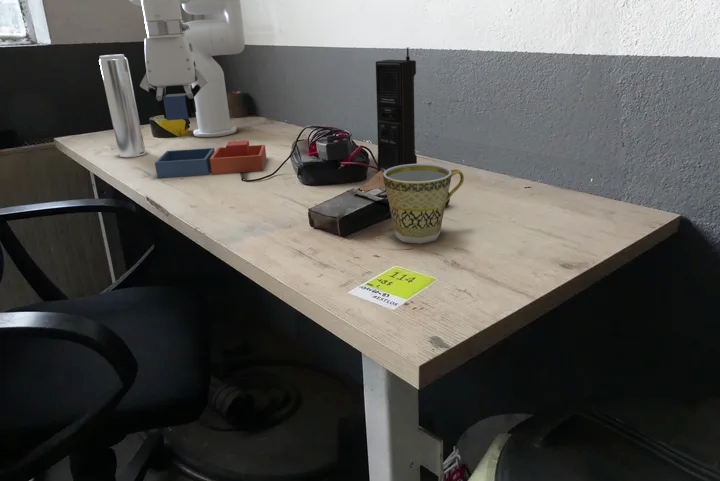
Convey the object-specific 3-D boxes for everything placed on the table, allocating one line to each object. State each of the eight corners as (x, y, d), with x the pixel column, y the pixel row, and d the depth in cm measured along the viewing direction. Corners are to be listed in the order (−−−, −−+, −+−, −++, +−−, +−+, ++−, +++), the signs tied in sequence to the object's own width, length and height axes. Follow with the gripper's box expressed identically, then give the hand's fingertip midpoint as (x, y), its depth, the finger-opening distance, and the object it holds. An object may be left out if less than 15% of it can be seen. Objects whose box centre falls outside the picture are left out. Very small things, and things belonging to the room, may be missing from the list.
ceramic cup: (404, 253, 81) (402, 186, 77) (374, 231, 90) (371, 169, 86) (480, 236, 86) (482, 171, 82) (445, 216, 94) (446, 157, 90)
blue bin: (169, 165, 136) (166, 150, 135) (216, 162, 137) (214, 147, 136) (157, 177, 126) (154, 162, 125) (208, 174, 127) (206, 159, 125)
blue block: (171, 116, 129) (167, 94, 127) (192, 115, 129) (188, 93, 127) (166, 120, 125) (162, 97, 123) (188, 119, 125) (184, 95, 123)
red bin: (219, 161, 137) (217, 147, 136) (266, 158, 138) (264, 144, 136) (212, 174, 127) (209, 158, 125) (262, 170, 127) (260, 155, 126)
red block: (231, 162, 134) (228, 141, 132) (251, 161, 134) (248, 140, 132) (228, 167, 130) (225, 145, 128) (249, 166, 130) (246, 144, 128)
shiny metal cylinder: (124, 158, 145) (103, 56, 135) (115, 155, 150) (94, 55, 140) (149, 154, 149) (130, 53, 139) (140, 150, 153) (120, 53, 144)
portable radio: (372, 171, 122) (366, 49, 113) (390, 165, 126) (386, 46, 117) (400, 176, 117) (397, 49, 108) (418, 170, 121) (416, 46, 112)
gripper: (208, 27, 124) (220, 112, 131) (129, 31, 123) (145, 116, 130) (202, 28, 117) (215, 117, 124) (118, 32, 116) (136, 122, 123)
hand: (179, 116), depth 127 cm, fingers closed on blue block, 4 cm apart
